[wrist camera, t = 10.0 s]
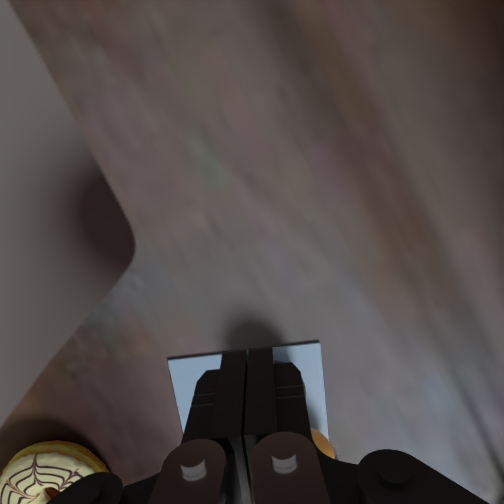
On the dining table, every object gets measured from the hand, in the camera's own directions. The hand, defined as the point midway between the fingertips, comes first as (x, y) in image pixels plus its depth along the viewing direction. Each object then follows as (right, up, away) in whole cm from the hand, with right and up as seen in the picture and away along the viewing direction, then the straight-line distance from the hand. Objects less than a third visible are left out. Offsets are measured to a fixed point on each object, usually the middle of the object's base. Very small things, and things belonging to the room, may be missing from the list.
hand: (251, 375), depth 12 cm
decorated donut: (-19, -19, +28) cm, 39 cm away
